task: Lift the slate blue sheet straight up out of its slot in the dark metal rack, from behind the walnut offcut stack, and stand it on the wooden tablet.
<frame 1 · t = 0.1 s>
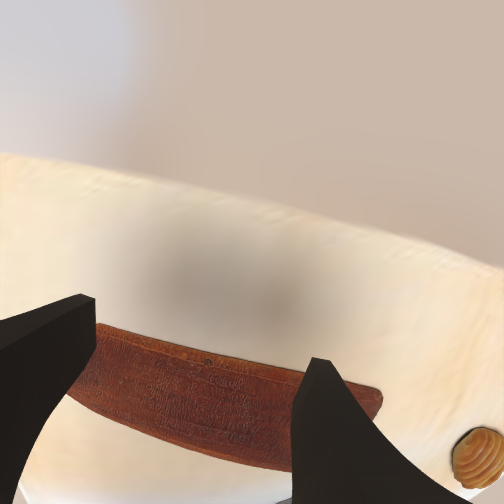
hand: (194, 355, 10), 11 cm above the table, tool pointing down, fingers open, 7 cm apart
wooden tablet: (201, 398, 23), on the table
pastry: (473, 452, 23), on the table
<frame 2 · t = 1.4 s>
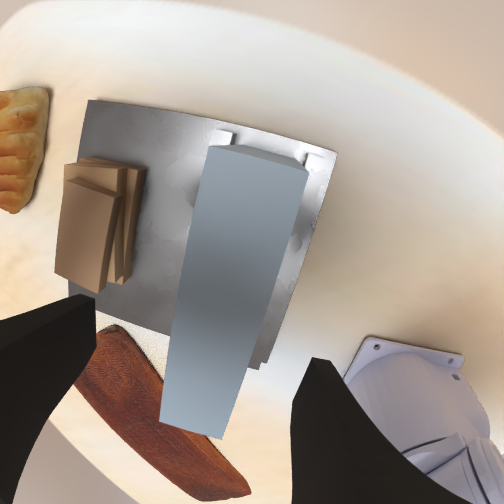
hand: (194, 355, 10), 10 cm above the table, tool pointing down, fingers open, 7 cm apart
sheet: (241, 255, 19), point 1 cm above the table, touching rack
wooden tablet: (165, 434, 27), on the table
pastry: (25, 139, 19), on the table
rack: (179, 232, 19), on the table
offcuts: (108, 217, 19), point 1 cm above the table, touching rack
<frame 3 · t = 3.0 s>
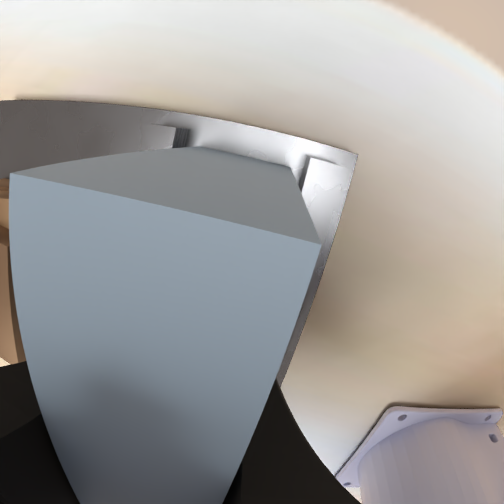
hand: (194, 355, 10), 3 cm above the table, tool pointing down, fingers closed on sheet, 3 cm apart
sheet: (209, 317, 12), point 1 cm above the table, touching gripper, rack
rack: (124, 279, 13), on the table
offcuts: (32, 260, 12), point 1 cm above the table, touching rack
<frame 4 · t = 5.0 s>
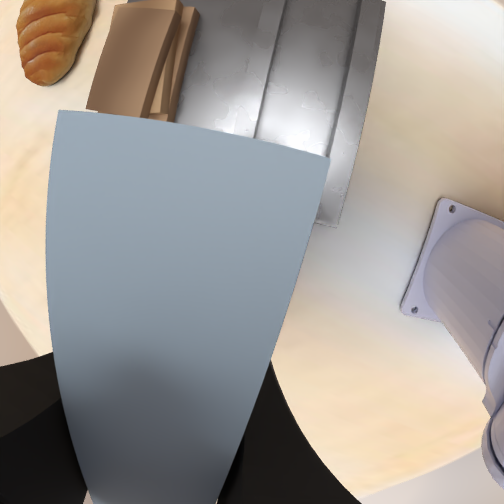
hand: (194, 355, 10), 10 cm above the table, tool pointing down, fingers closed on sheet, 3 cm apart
sheet: (214, 299, 12), point 7 cm above the table, touching gripper
pastry: (68, 19, 16), on the table
rack: (232, 77, 16), on the table
offcuts: (153, 66, 15), point 1 cm above the table, touching rack
when the fingers open (5 cm above the table, at t = 7.3 s): sheet stays where it is, resting on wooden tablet.
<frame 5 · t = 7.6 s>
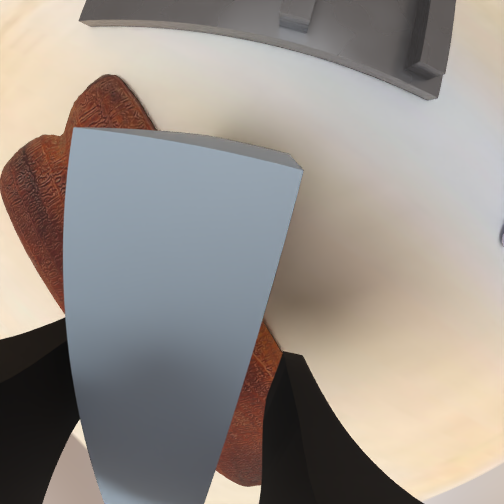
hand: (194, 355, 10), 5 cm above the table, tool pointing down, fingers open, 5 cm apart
sheet: (214, 293, 13), point 1 cm above the table, touching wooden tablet
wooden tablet: (181, 345, 16), on the table, touching sheet
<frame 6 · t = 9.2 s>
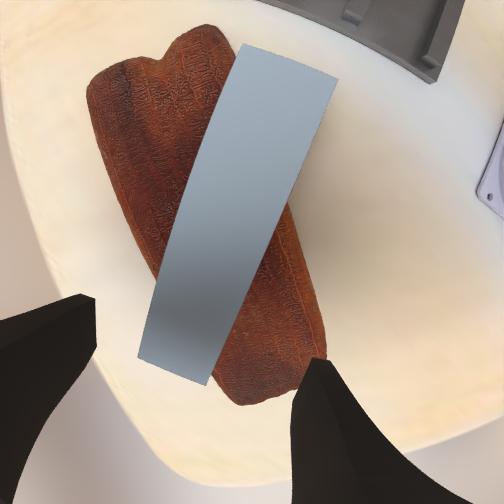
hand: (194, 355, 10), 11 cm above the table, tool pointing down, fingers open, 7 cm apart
sheet: (245, 197, 18), point 1 cm above the table, touching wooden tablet
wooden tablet: (217, 241, 21), on the table, touching sheet
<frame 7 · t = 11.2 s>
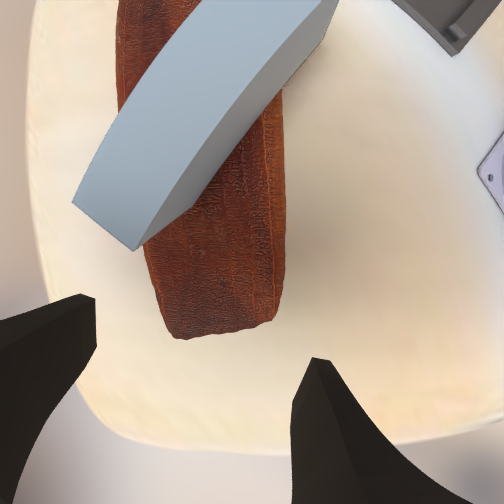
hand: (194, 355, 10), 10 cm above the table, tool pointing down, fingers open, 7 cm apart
sheet: (234, 103, 16), point 1 cm above the table, touching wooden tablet
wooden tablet: (200, 148, 19), on the table, touching sheet
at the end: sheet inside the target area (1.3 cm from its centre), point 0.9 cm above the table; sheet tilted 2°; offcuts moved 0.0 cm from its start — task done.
